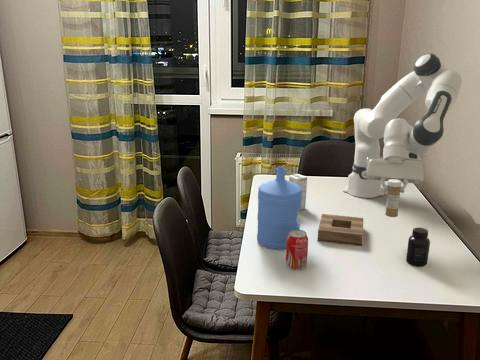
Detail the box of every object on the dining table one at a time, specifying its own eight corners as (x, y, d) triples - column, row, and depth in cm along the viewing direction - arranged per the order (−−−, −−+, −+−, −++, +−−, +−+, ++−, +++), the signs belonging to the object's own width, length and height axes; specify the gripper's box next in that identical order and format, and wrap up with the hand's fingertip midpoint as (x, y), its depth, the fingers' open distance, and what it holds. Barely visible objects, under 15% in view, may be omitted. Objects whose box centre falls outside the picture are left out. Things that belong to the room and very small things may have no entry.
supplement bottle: (430, 262, 163) (435, 230, 159) (421, 269, 159) (426, 236, 155) (411, 256, 168) (415, 224, 164) (401, 262, 163) (406, 230, 160)
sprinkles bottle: (387, 212, 180) (391, 177, 176) (399, 215, 177) (403, 180, 173) (382, 215, 176) (386, 180, 172) (395, 218, 174) (398, 183, 170)
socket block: (321, 224, 193) (322, 213, 192) (362, 228, 189) (363, 217, 188) (317, 241, 178) (318, 229, 177) (361, 246, 175) (363, 234, 173)
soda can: (288, 259, 165) (290, 227, 161) (309, 263, 162) (310, 230, 158) (282, 268, 158) (284, 235, 155) (303, 273, 156) (305, 239, 152)
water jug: (274, 255, 168) (276, 178, 159) (248, 238, 180) (249, 166, 171) (308, 244, 176) (312, 170, 167) (281, 229, 188) (284, 160, 179)
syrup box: (287, 207, 210) (288, 175, 206) (297, 204, 214) (298, 173, 209) (296, 211, 206) (297, 179, 201) (306, 208, 209) (307, 176, 205)
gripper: (366, 151, 179) (364, 185, 173) (425, 155, 175) (424, 190, 169) (365, 160, 185) (363, 192, 179) (422, 164, 180) (421, 197, 174)
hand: (393, 191), depth 174 cm, fingers closed on sprinkles bottle, 4 cm apart
